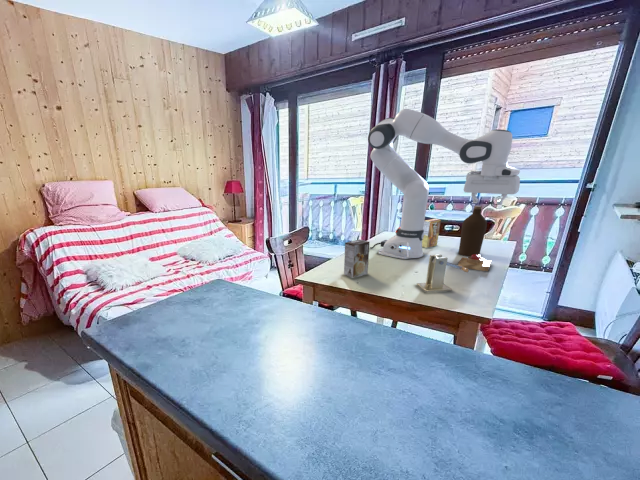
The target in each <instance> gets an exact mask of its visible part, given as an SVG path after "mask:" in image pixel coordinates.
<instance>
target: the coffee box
mask: <svg viewBox="0 0 640 480" xmlns="http://www.w3.org/2000/svg"><path fill="white" fill-rule="evenodd" d="M370 244H371V243H370V241H368V240H363V239H356V240H350V241H346V242H344V260H343V261H344V262H343V264H344V265H343V275H345V276H348V277H350V278H359V277H362V276H366V275H369V273H368V272H369V257H370V256H369V255H370Z"/></svg>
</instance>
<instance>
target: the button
mask: <svg viewBox="0 0 640 480" xmlns="http://www.w3.org/2000/svg"><path fill="white" fill-rule="evenodd" d="M481 257H482V255H481V254H479V255H477V254H473V255H472V256H471V259H476V260H479V259H480V258H481Z"/></svg>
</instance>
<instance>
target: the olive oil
mask: <svg viewBox="0 0 640 480" xmlns="http://www.w3.org/2000/svg"><path fill="white" fill-rule="evenodd" d="M482 209H483V206H482V205H474V206H473V209H472V210H473V211H472V213H471V214H470V215H469V216H467V217H465V219H464V220H463V222H462V224H461V232H460V240H459V247H458V255H460V256H463V257H470V256H472V255H473V254H477V255H481V251H482V245H483V243H484V238H485V234H486V231H487V229H488V223H487V219H486V218H485V217H484V216H483V215H482Z"/></svg>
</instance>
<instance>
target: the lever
mask: <svg viewBox="0 0 640 480" xmlns="http://www.w3.org/2000/svg"><path fill="white" fill-rule="evenodd" d="M435 258H439V257H436V256H435V257H434V259H433V261H432V262H433V263H434V261H435ZM446 266H449V267H452V268H456V269H458V270H461V271H463V272H464V273H468V272H469V270H470V269H468V268H465V267H463V266H461V265H458V264H455V263H452V262H448V261H447V265H446Z"/></svg>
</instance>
